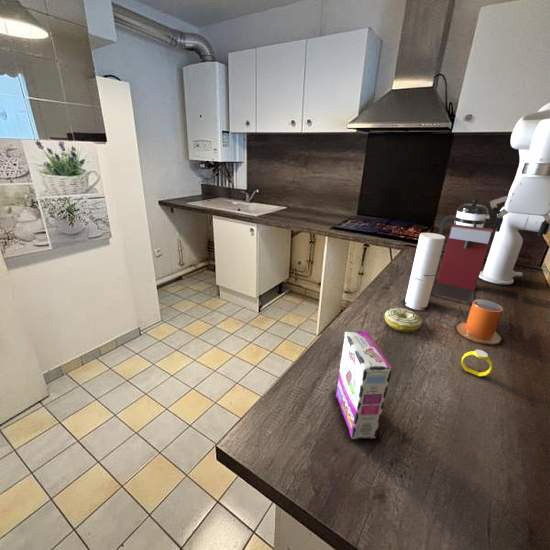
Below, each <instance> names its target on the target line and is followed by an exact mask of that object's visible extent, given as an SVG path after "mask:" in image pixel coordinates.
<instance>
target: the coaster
mask: <svg viewBox="0 0 550 550" xmlns="http://www.w3.org/2000/svg"><path fill="white" fill-rule="evenodd" d="M466 322H467V321H463V322H460V323H458V324H457V325H456V331H457V332H458V333H459V334H460V335H461V336H462V337H464V338H466V339H467V340H469V341H472V342H474V343H478V344H481V345H487V346H494V345H498V344H500V343H501V342H502V337H501V335H500V334H499V333H498V332H497V331H495V333H494V336H493V338H491V339H481V338H477V337H474V336H472V335H470V334H469V333H467V332H466V331H465V329H464V328H465V325H466Z"/></svg>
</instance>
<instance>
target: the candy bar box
mask: <svg viewBox="0 0 550 550" xmlns="http://www.w3.org/2000/svg"><path fill="white" fill-rule="evenodd" d="M343 336H344V337H343V344H342V349H341V350H342V351H341V358H340V363H339V364H340V365H339V371H338V378H337V383H336V390H335V391H336V392H335V396H336V399H337V401H338V404H339V407H340V410H341V412H342V415H343V418H344V421H345V424H346V426H347V430H348V432H349V435H350V438H351V440H372V439H376V438H377V435H378V430H379V426H380V422H381V418H382V413H383V409H384V405H385V401H386V396H387V393H388V388H389V384H390V379H391V375H392V371H393V367H392V365H391V364H390V363H389V361H388V360H387V358H386V357H385V356H384V354H383V352H382V351H381V349H380V348H379V346H378V345H377V344H376V342H375V341H374V339H373V338H372V336H371V334H370V333H369V331H366V330H364V331H362V330H361V331H344V335H343Z"/></svg>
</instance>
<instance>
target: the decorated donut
mask: <svg viewBox="0 0 550 550" xmlns="http://www.w3.org/2000/svg"><path fill="white" fill-rule="evenodd" d="M384 320H385V323H386V325H388V326H389V327H390V328H392V329H393V330H396V331H397V332H402V333H413V332H416V331H417V330H418V329H420V328H421V326H422V324H423V320H422V318H421V317H420V315H418V313H415V312H414V311H412V310H410V309H407V308H404V307H395V308H390V309H388V310H386V311H385V313H384Z"/></svg>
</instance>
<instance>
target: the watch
mask: <svg viewBox="0 0 550 550" xmlns="http://www.w3.org/2000/svg"><path fill="white" fill-rule="evenodd" d="M470 356H475V357H476V358H477V359H480V360H485V361H486V362H487V363H488V364H489V368H488V369H487V370H485V371H481V372H479V371H477V370H475V369H472V368H470V367H468V366H467V365H466V363H465V359H466V358H467V357H470ZM461 366H462V369H464V371H465V372H468V373H470V374H473V375H475V376H477V377H486V376H488V375H490V374H491V373H492V370H493V361H492V359H491V358H490V357H489V354H488V353H487V351H484V350H482V349H474V351H473V350H472V351H471V350H470V351H468V352H466V353H464V354H463V356H462V357H461Z"/></svg>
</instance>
